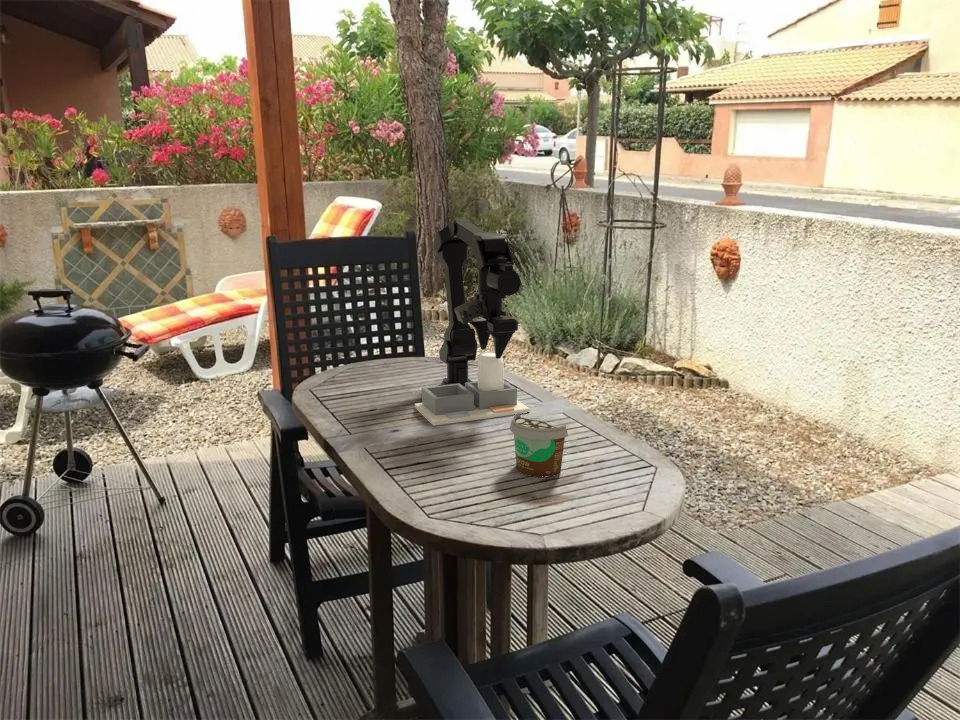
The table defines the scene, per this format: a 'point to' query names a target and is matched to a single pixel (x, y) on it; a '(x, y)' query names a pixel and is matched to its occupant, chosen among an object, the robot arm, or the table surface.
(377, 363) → the table surface
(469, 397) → the socket board
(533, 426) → the food container
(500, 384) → the beverage can
